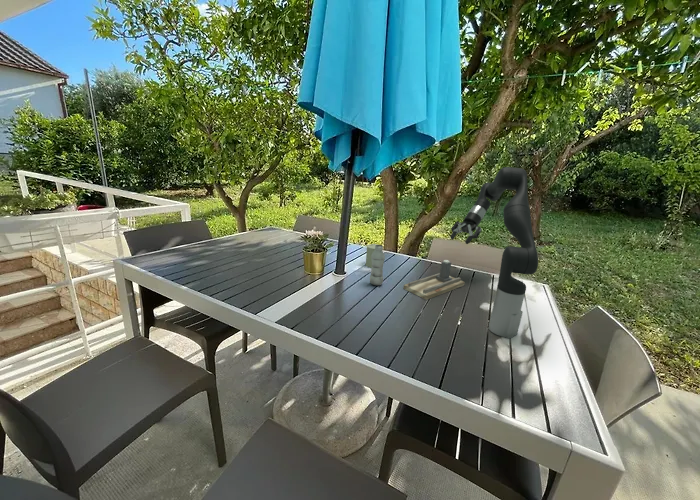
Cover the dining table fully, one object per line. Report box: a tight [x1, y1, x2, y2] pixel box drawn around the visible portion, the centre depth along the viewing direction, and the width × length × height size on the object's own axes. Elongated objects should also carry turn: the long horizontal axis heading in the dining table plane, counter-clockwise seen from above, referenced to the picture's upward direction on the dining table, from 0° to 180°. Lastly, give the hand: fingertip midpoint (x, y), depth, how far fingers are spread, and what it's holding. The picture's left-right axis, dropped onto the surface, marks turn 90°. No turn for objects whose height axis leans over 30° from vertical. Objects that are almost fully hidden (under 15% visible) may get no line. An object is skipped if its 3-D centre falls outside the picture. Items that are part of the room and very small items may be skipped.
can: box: [365, 243, 379, 269], centre depth 179 cm, size 9×9×12 cm
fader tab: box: [436, 259, 452, 282], centre depth 157 cm, size 6×5×10 cm
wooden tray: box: [402, 272, 466, 301], centre depth 155 cm, size 14×30×4 cm, turn 128°
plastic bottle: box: [369, 244, 386, 286], centre depth 152 cm, size 6×7×20 cm
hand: (458, 240), depth 158 cm, fingers open, 8 cm apart
